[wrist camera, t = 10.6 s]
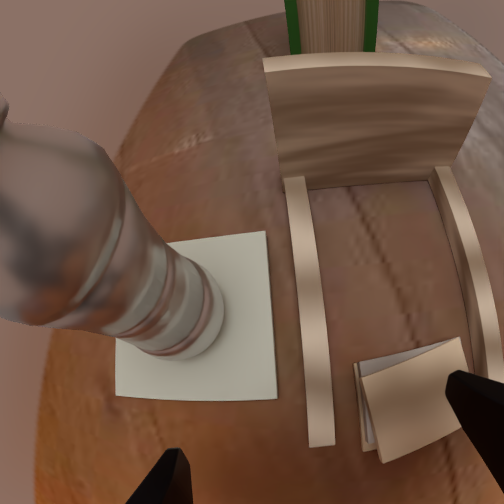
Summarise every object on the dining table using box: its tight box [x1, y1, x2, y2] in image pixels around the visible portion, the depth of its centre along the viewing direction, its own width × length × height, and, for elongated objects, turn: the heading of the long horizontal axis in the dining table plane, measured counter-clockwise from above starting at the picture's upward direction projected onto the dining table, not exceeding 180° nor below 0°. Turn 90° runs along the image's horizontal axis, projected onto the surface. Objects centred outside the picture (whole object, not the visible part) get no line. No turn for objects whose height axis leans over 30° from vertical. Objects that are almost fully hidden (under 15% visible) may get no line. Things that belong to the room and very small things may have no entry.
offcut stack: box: [353, 337, 469, 464], centre depth 17 cm, size 7×8×3 cm
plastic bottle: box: [0, 93, 224, 361], centre depth 12 cm, size 6×7×20 cm
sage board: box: [115, 231, 278, 401], centre depth 22 cm, size 12×12×1 cm
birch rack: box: [262, 52, 504, 448], centre depth 15 cm, size 21×15×12 cm
